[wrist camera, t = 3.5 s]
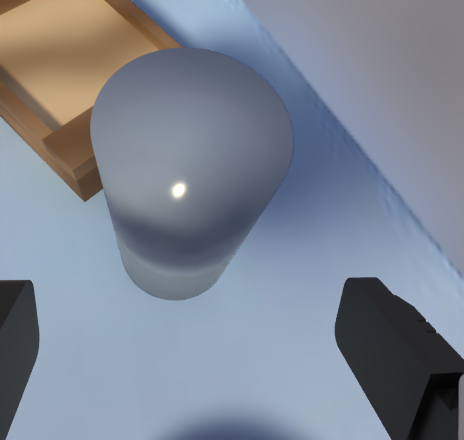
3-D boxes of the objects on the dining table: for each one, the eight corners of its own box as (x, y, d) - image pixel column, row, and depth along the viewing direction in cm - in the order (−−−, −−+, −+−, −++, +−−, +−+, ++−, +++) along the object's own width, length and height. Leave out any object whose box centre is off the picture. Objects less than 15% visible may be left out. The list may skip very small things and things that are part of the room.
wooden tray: (-59, 56, 23) (-93, 3, 20) (71, -9, 26) (59, -64, 23) (84, 202, 21) (72, 170, 18) (203, 112, 25) (210, 72, 21)
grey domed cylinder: (105, 285, 20) (57, 188, 10) (139, 186, 22) (127, 25, 12) (215, 312, 20) (277, 246, 10) (237, 212, 23) (305, 79, 13)
